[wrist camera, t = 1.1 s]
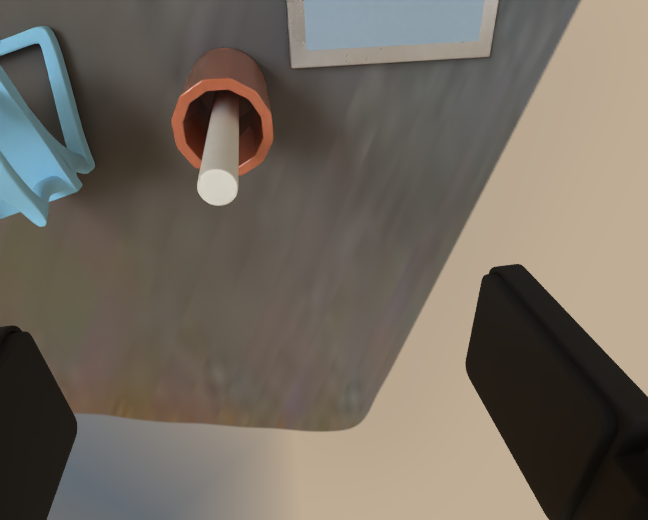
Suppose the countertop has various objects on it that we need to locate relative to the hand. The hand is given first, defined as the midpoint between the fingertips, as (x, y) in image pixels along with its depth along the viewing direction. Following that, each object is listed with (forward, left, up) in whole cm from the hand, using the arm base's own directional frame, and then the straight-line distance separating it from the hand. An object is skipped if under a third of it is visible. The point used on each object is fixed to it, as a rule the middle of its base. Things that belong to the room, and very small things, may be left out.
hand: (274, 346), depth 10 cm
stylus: (0, -1, -23) cm, 23 cm away
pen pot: (0, -1, -23) cm, 23 cm away
